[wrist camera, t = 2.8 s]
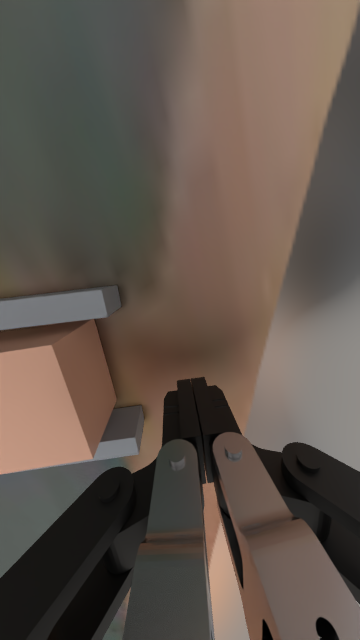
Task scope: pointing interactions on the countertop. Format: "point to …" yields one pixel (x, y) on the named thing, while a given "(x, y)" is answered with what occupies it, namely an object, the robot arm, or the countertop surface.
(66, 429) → the block
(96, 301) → the chute
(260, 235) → the countertop surface
